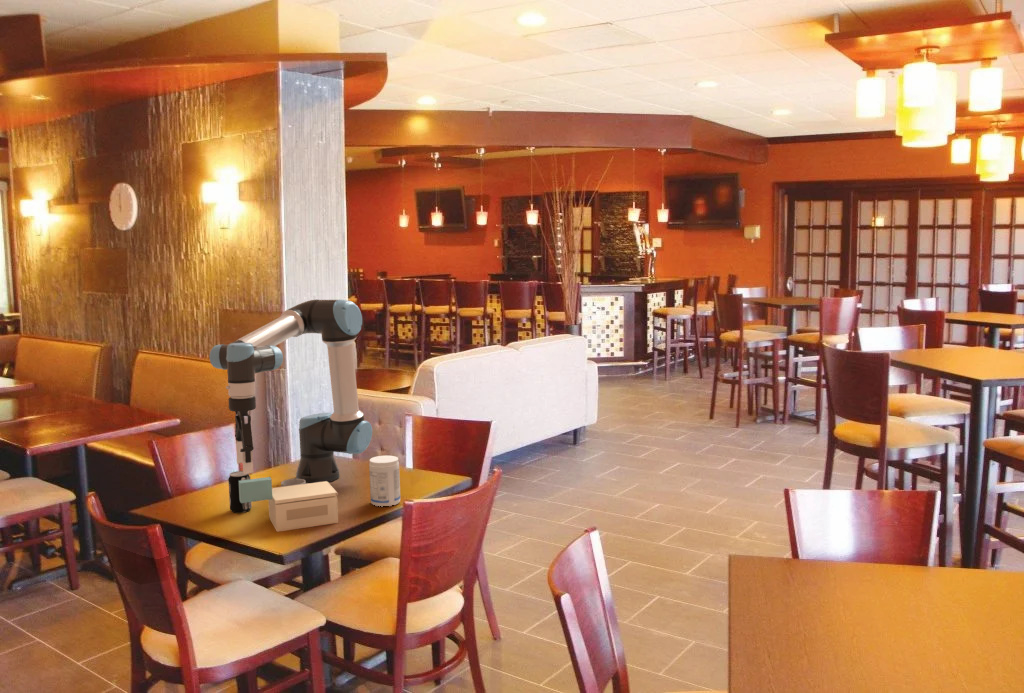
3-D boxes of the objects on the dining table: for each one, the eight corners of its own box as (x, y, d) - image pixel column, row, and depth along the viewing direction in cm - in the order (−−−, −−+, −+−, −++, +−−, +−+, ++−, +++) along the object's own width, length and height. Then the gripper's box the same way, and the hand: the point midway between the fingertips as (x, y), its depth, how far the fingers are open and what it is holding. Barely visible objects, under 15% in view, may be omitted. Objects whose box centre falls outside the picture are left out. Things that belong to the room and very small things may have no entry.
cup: (311, 505, 270) (310, 479, 269) (291, 514, 261) (290, 488, 260) (292, 503, 273) (291, 477, 272) (272, 512, 264) (270, 485, 263)
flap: (237, 495, 254) (236, 476, 253) (328, 484, 265) (327, 465, 264) (243, 508, 241) (242, 487, 241) (338, 495, 253) (337, 476, 252)
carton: (269, 517, 259) (268, 492, 258) (327, 509, 266) (326, 485, 265) (276, 531, 246) (275, 505, 245) (338, 522, 253) (337, 496, 252)
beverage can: (229, 508, 268) (227, 471, 267) (251, 506, 271) (249, 469, 269) (230, 514, 262) (228, 477, 261) (252, 512, 265) (250, 474, 263)
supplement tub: (390, 496, 279) (389, 453, 277) (406, 503, 272) (405, 459, 270) (364, 502, 273) (363, 458, 271) (380, 509, 266) (378, 464, 264)
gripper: (223, 391, 254) (226, 459, 257) (233, 404, 232) (237, 479, 234) (249, 389, 257) (252, 457, 260) (261, 402, 235) (264, 476, 237)
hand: (245, 467), depth 247 cm, fingers open, 13 cm apart
